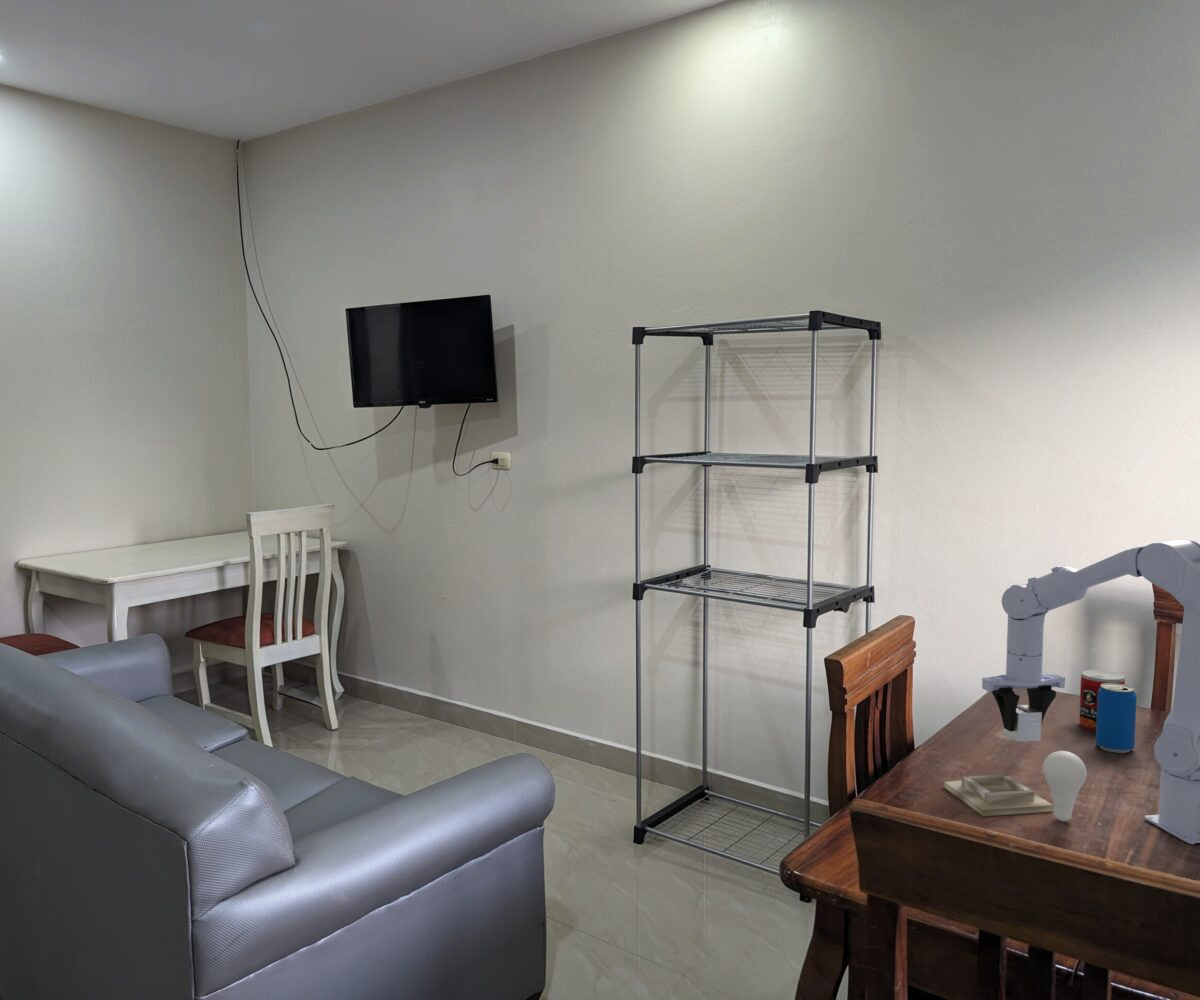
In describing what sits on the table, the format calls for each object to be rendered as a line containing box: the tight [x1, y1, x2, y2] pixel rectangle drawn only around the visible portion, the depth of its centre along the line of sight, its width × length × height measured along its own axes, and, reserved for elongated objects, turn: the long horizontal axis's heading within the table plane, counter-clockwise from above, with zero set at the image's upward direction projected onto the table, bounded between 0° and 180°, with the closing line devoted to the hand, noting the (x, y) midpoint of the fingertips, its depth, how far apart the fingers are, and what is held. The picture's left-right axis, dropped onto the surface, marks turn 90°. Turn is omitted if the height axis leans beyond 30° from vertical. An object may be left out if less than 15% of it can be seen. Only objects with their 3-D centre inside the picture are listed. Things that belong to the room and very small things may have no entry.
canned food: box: [1078, 669, 1126, 732], centre depth 192 cm, size 8×8×11 cm
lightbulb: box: [1042, 750, 1087, 822], centre depth 147 cm, size 6×6×11 cm
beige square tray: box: [943, 773, 1054, 817], centre depth 156 cm, size 12×12×2 cm
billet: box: [1002, 704, 1042, 743], centre depth 165 cm, size 4×4×5 cm
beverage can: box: [1095, 683, 1138, 754], centre depth 179 cm, size 6×6×12 cm
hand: (1021, 728), depth 165 cm, fingers closed on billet, 4 cm apart
